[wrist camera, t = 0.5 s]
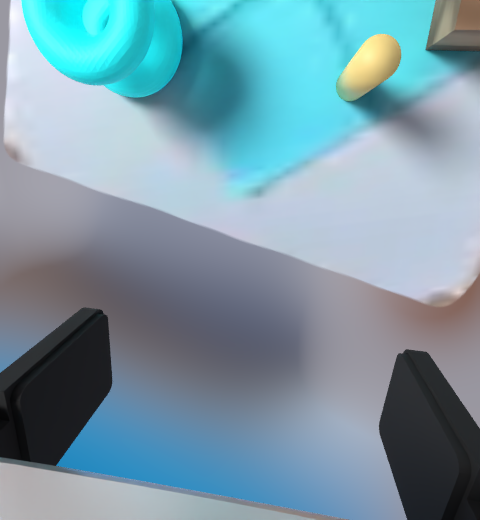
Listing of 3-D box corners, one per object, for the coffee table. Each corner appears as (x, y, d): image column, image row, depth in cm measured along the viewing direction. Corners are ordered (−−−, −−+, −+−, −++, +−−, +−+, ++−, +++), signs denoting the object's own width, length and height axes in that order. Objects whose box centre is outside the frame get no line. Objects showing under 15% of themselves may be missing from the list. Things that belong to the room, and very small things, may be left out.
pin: (338, 67, 31) (360, 33, 22) (369, 68, 31) (405, 34, 22) (334, 100, 32) (353, 81, 23) (364, 101, 32) (396, 82, 22)
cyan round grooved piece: (64, -132, 21) (174, 2, 23) (132, -46, 31) (207, 44, 32) (-14, 1, 24) (87, 111, 26) (69, 42, 34) (140, 121, 35)
